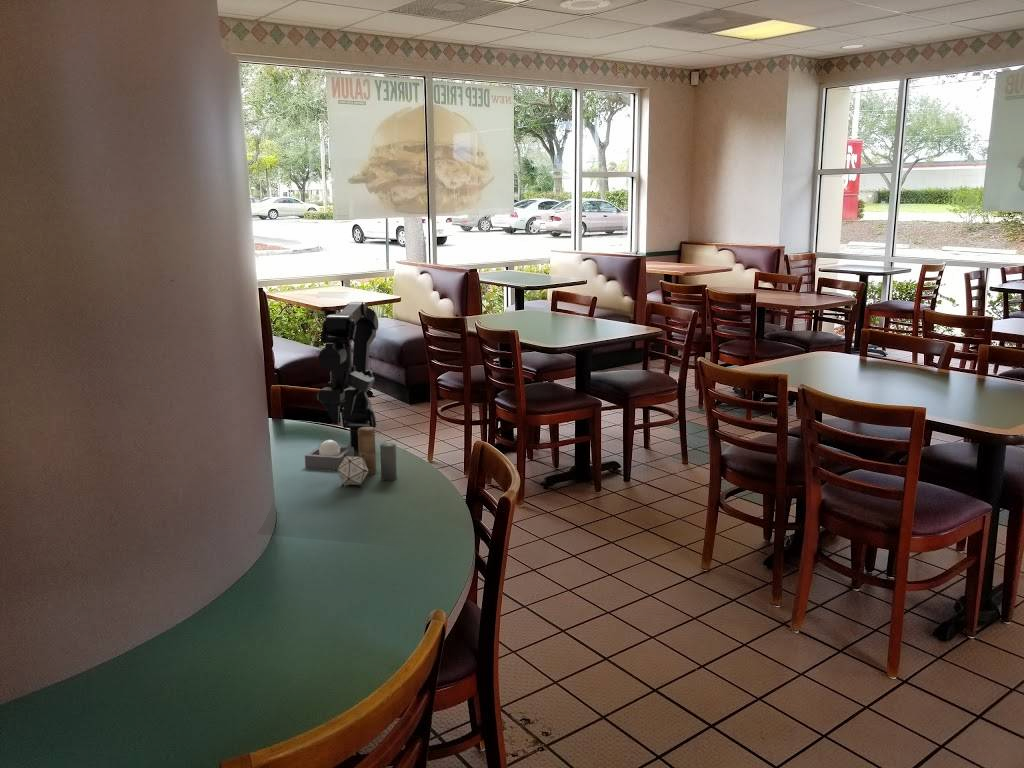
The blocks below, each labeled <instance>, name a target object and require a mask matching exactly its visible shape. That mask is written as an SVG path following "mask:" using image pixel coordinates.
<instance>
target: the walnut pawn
mask: <svg viewBox="0 0 1024 768" xmlns="http://www.w3.org/2000/svg"><path fill="white" fill-rule="evenodd" d="M375 428H376V427H375ZM375 428H373V427H361V428H358V450H357V451H358V457H362V455H363V454H364V457H363V459H364V461H365V463H366V466H367V468H368V470H369V471H370V470H371V471H372V472H371V473H370V472H368V474H367V476H372V475H371V474H373V475H375V474H376V473H377V463H376V462H377V461H376V459H377V458H376V456H377V455H376V453H377V452H376V429H375ZM374 473H375V474H374Z"/></svg>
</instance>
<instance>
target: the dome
mask: <svg viewBox="0 0 1024 768" xmlns="http://www.w3.org/2000/svg"><path fill="white" fill-rule="evenodd" d="M320 445H321V446H320V448H319V455H326V456H339V455H340V447H339V446H340V445H339V444H338V443H337V441H335V440H333V439H326V440H325V441H323V442H322V443H321V444H320Z"/></svg>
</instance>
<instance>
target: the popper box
mask: <svg viewBox="0 0 1024 768" xmlns="http://www.w3.org/2000/svg"><path fill="white" fill-rule="evenodd" d="M320 446H321V444H319V445H318V446H316V447H315V448H313V449H312V450H311V451H309V452H308V453H306V454H305V455H304V465H305V466H304V467H305V468H316V469H317V468H319V469H330V470H334V469H338V467H339V465H340V464H341V462H342V461H343V459H344V458H345V456H344V454H346V456H355V450H354V447H347V446H345V445H343V446H341V445H339V447H340V455H339V456H326V455H319V448H320Z"/></svg>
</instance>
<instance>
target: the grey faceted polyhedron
mask: <svg viewBox="0 0 1024 768" xmlns="http://www.w3.org/2000/svg"><path fill="white" fill-rule="evenodd" d="M344 456H345V458H344V459H343V461H342V462H341V464H340V465H339V467H338V469H333V470H334V472H335V471H336V472H337V473H338V476H339V478H340V479H341V480H340V481H341V482H342V484H341V488H343V487H344V486H345V485H348V486H349V485H352V486H359V487H360V488H363V485H362V484H363V482H364V480H365V479H366V477H367V476H368V475H367V474H368V472H370V473H371V472H372V471H371V470H370V471H369V470H368V468H367V466H366V463H365V461H364V459H363V457H364V454H363V455H362V457H359V456H355V455H354V456H346V454H344Z"/></svg>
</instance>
